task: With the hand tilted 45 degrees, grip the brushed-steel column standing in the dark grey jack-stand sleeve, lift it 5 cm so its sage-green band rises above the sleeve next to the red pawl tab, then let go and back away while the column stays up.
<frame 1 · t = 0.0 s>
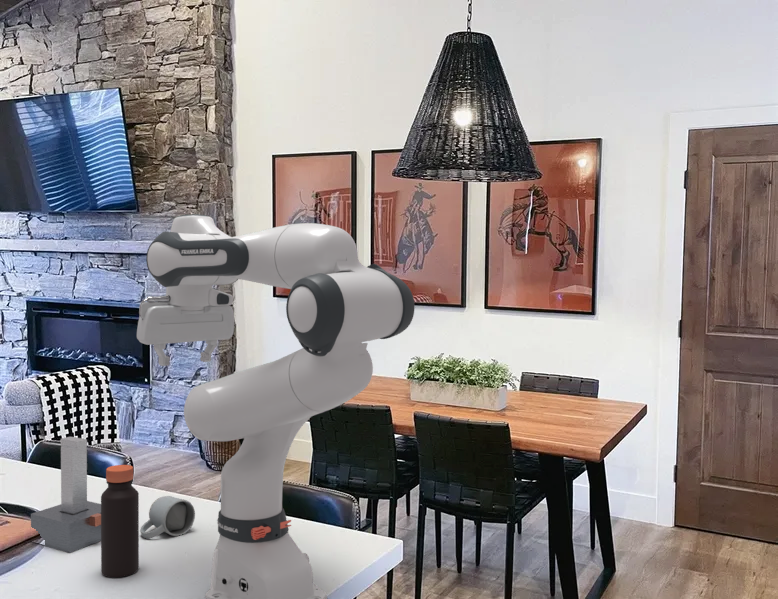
hand: (185, 363, 156), 39 cm above the kitchen island, tool pointing down, fingers open, 8 cm apart
ceramic mug: (166, 534, 169), on the kitchen island
bottle: (120, 572, 148), on the kitchen island
stand sleeve: (74, 538, 165), on the kitchen island
column: (74, 488, 164), point 11 cm above the kitchen island, slide at 0.0 cm
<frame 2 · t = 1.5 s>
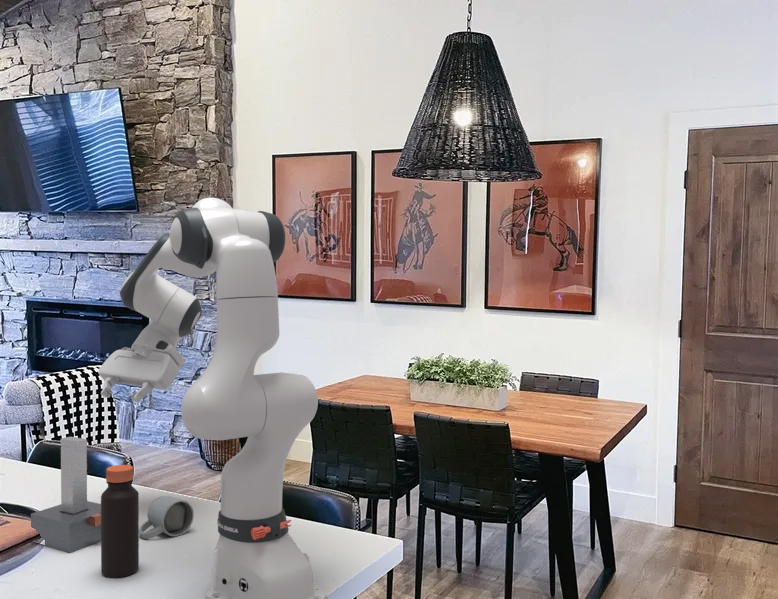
hand: (119, 398, 174), 28 cm above the kitchen island, tool tilted 45°, fingers open, 8 cm apart
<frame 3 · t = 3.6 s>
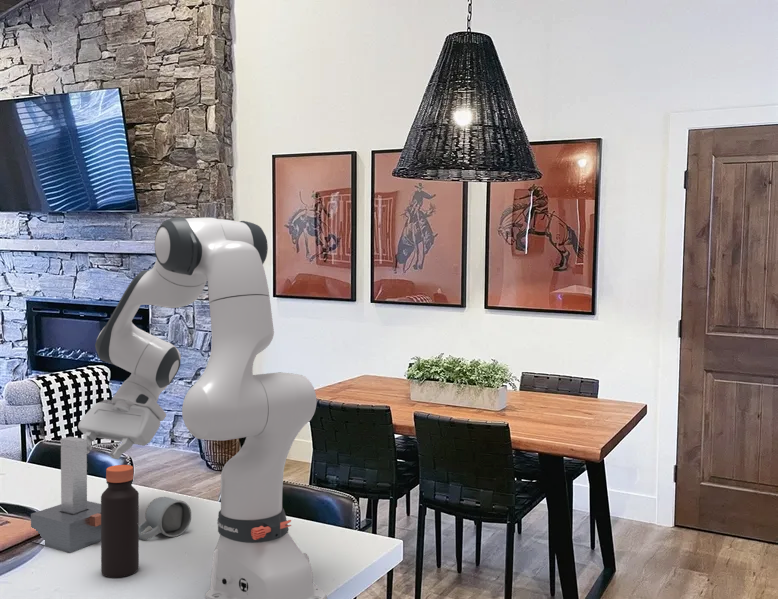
hand: (98, 454, 170), 17 cm above the kitchen island, tool tilted 45°, fingers open, 8 cm apart
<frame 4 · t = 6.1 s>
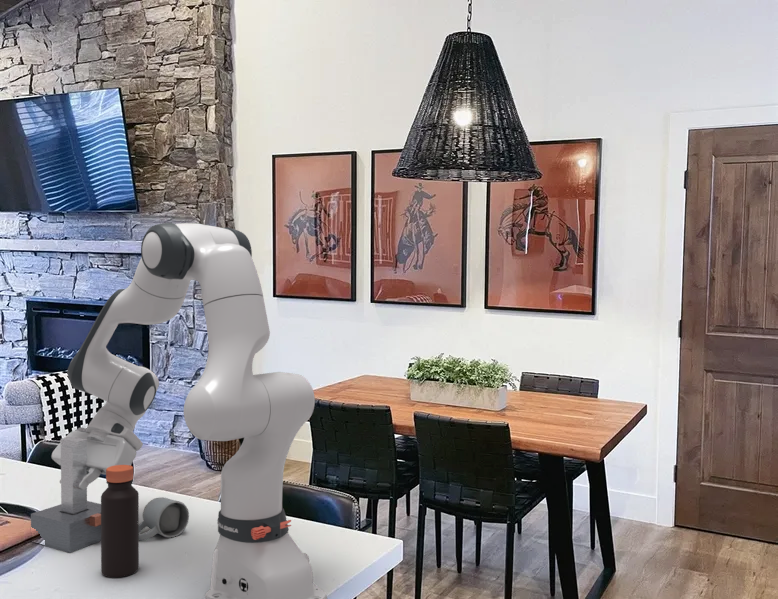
hand: (71, 486, 164), 11 cm above the kitchen island, tool tilted 45°, fingers closed on column, 4 cm apart
column: (74, 488, 164), point 11 cm above the kitchen island, slide at 0.0 cm, touching gripper
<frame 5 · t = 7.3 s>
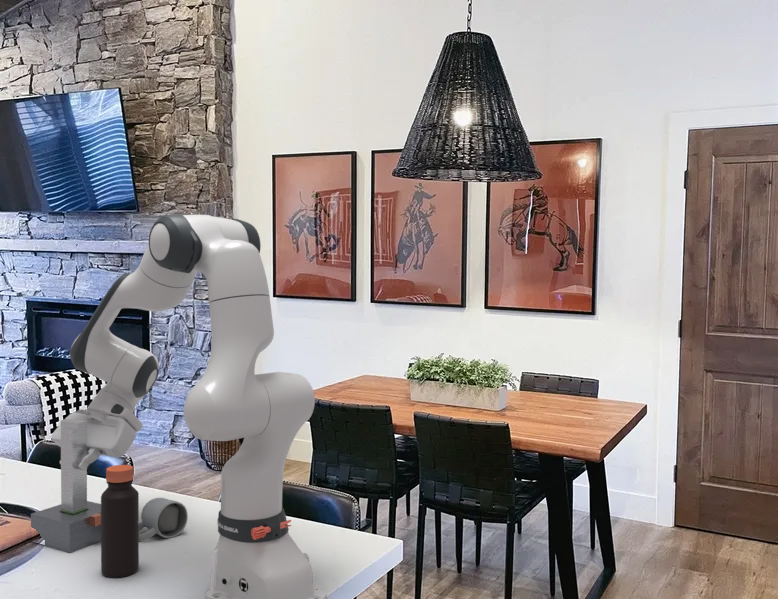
hand: (71, 467, 164), 16 cm above the kitchen island, tool tilted 45°, fingers closed on column, 4 cm apart
column: (73, 470, 164), point 15 cm above the kitchen island, slide at 3.9 cm, touching gripper
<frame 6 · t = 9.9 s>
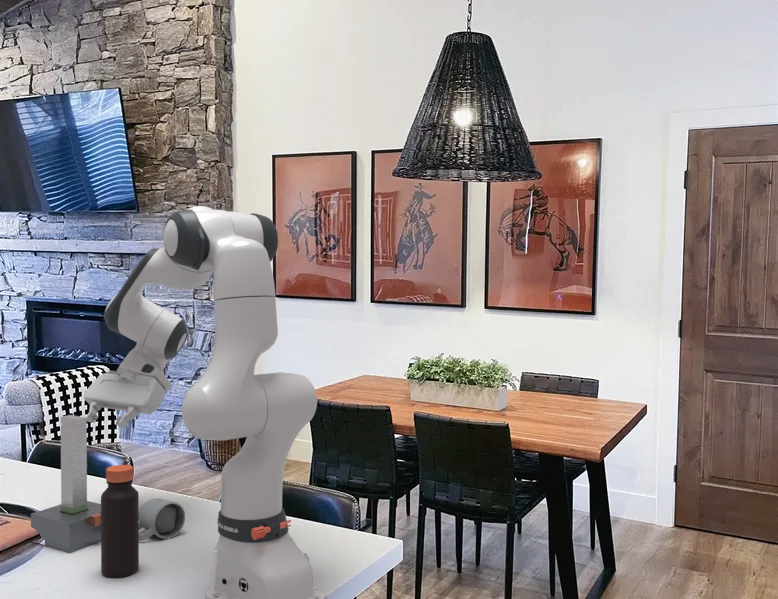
hand: (104, 423, 171), 23 cm above the kitchen island, tool tilted 45°, fingers open, 8 cm apart
column: (73, 467, 164), point 15 cm above the kitchen island, slide at 4.7 cm
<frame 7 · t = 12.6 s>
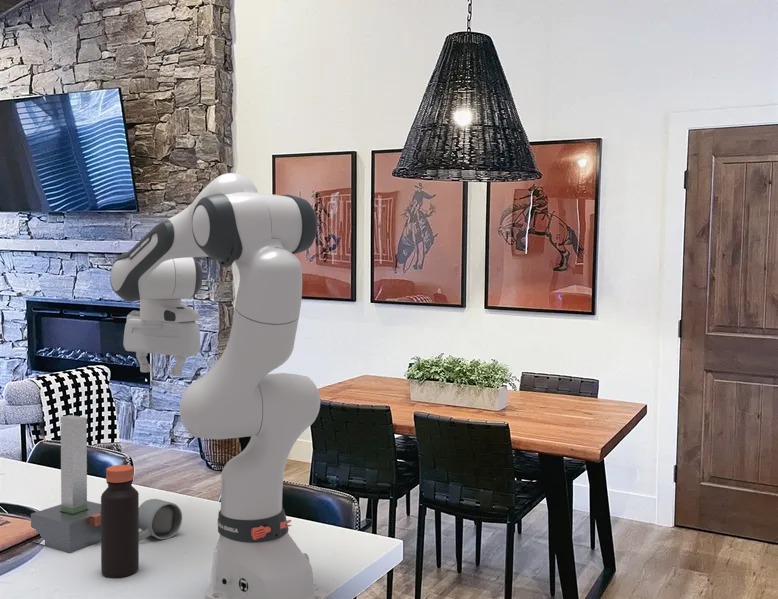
hand: (160, 373, 173), 34 cm above the kitchen island, tool pointing down, fingers open, 8 cm apart
at the end: column slide at 4.7 cm; the gripper is holding nothing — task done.
